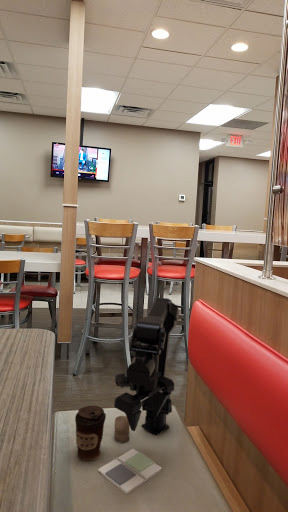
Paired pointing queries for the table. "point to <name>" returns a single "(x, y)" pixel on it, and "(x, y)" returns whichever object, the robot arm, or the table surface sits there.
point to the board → (129, 470)
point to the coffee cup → (89, 431)
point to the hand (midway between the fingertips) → (144, 423)
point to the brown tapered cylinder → (121, 429)
